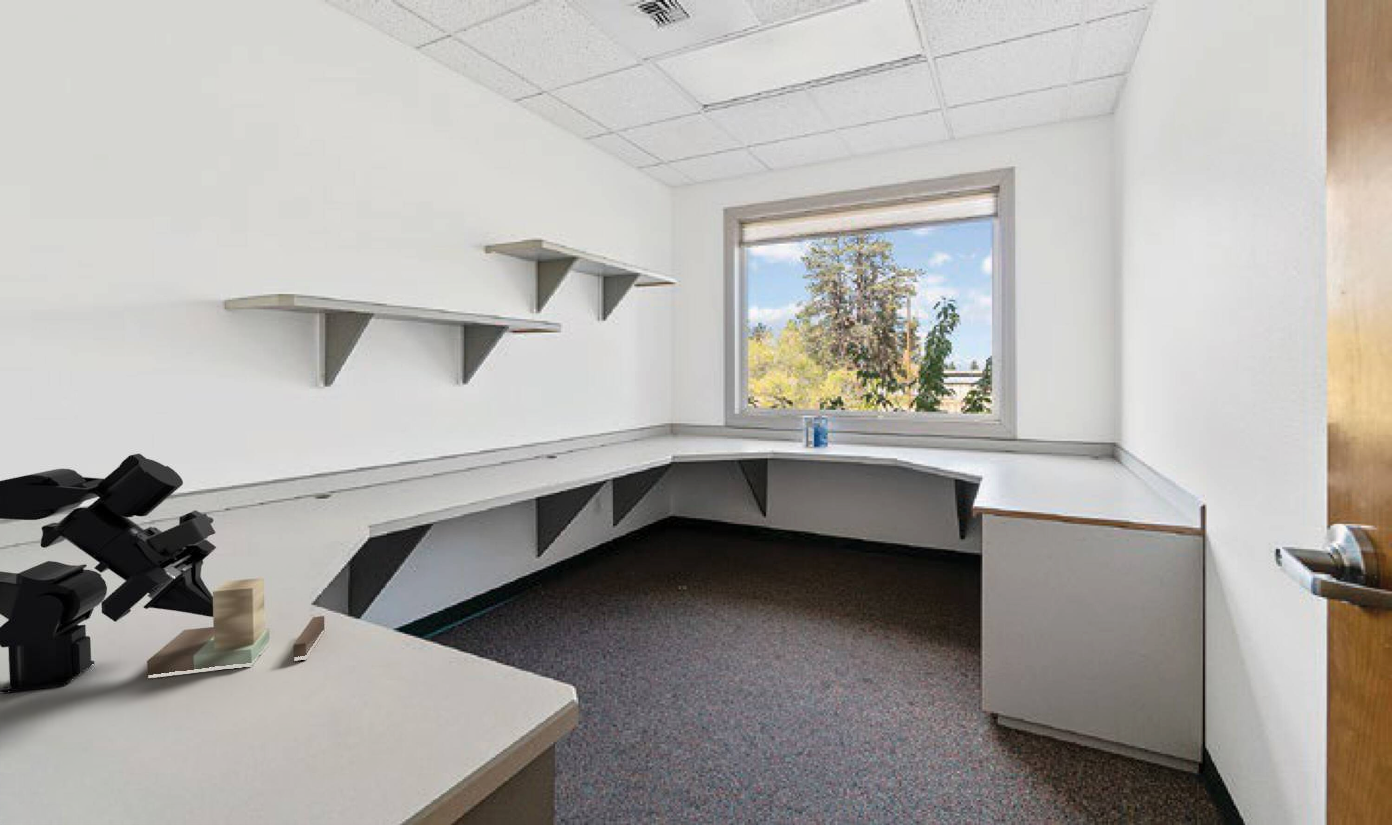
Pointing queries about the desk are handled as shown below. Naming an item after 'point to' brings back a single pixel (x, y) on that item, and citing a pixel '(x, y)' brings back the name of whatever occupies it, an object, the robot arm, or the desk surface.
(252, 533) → the desk surface
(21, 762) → the desk surface
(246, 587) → the beech block
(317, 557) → the desk surface
